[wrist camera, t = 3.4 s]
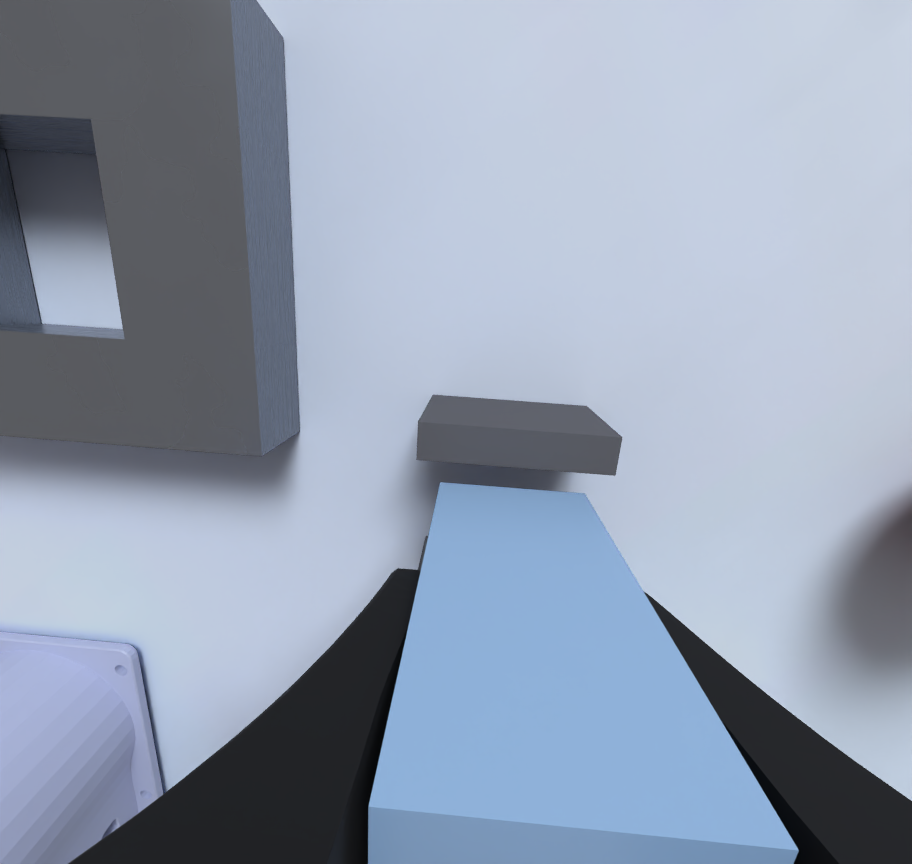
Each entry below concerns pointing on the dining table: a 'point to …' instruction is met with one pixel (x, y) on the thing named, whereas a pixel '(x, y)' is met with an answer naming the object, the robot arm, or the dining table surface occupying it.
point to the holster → (516, 436)
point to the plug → (552, 708)
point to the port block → (156, 224)
